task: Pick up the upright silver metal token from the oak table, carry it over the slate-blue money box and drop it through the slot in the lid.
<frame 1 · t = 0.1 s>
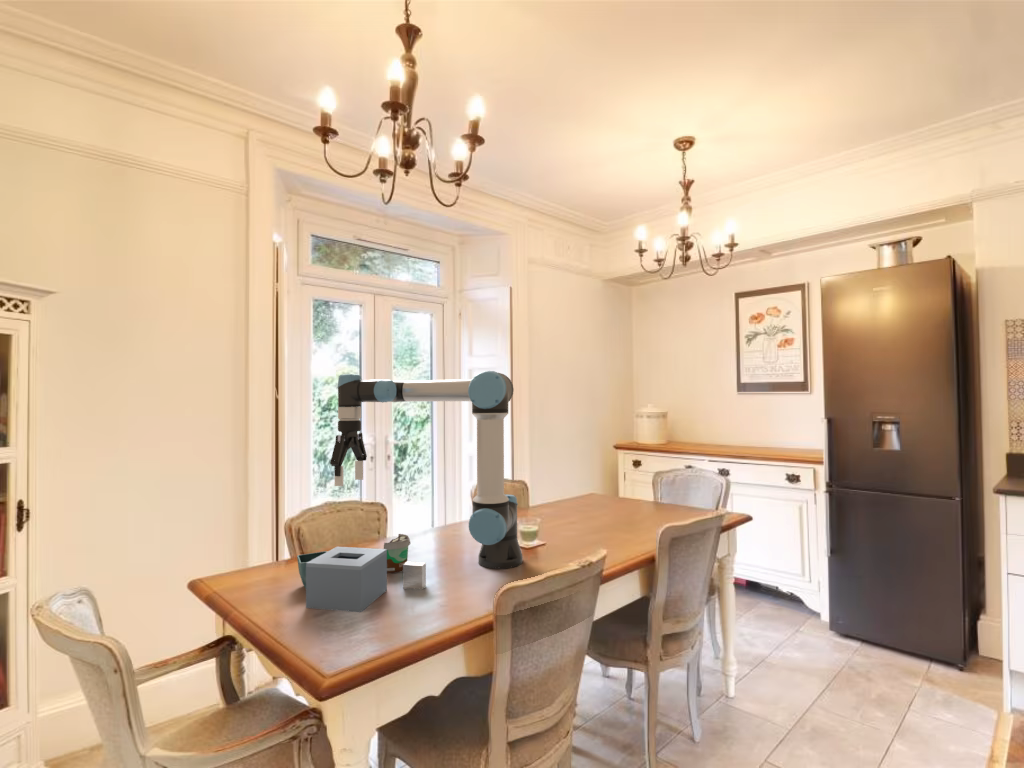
hand: (349, 482, 178), 28 cm above the table, fingers open, 13 cm apart
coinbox: (348, 598, 148), on the table
food container: (400, 569, 174), on the table
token: (414, 587, 157), on the table
flower pot: (313, 587, 158), on the table
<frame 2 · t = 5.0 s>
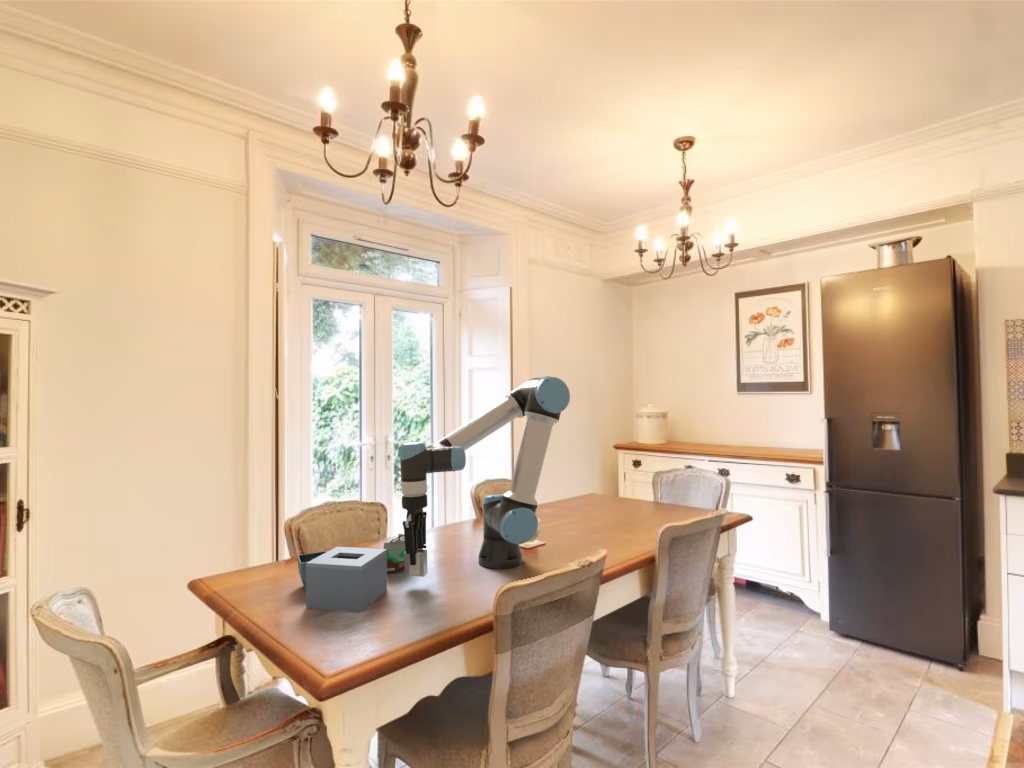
hand: (416, 572, 158), 4 cm above the table, fingers closed on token, 3 cm apart
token: (416, 574, 158), point 4 cm above the table, touching gripper
everything else where it was.
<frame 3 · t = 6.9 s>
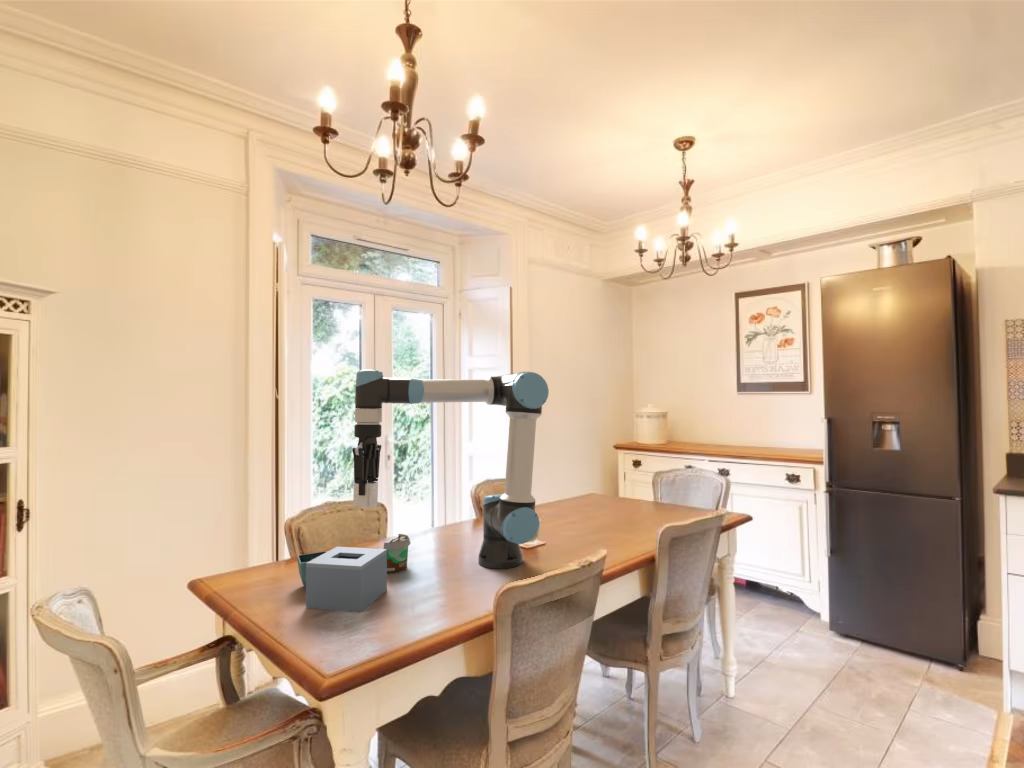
hand: (366, 505, 151), 26 cm above the table, fingers closed on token, 3 cm apart
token: (365, 506, 152), point 25 cm above the table, touching gripper
everything else where it was.
when the fingers open (13 cm above the table, at t = 8.8 s): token drops 11 cm, resting on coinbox.
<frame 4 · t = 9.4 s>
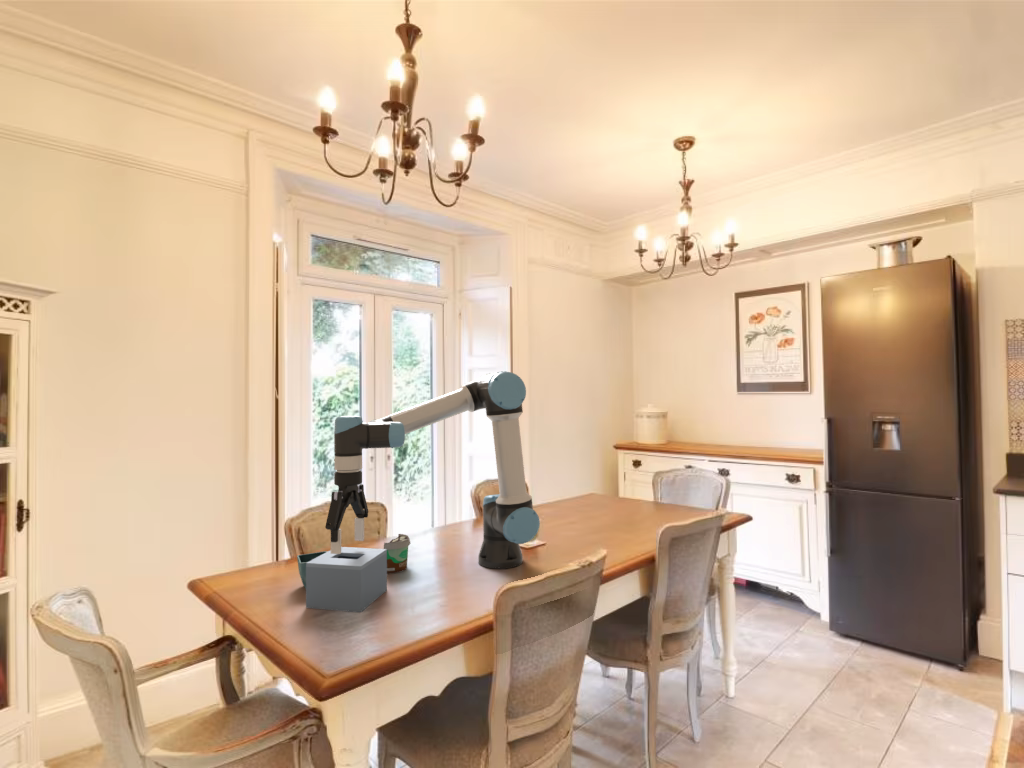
hand: (348, 546, 149), 15 cm above the table, fingers open, 12 cm apart
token: (346, 593, 148), point 2 cm above the table, tilted 20°, touching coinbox
everything else where it was.
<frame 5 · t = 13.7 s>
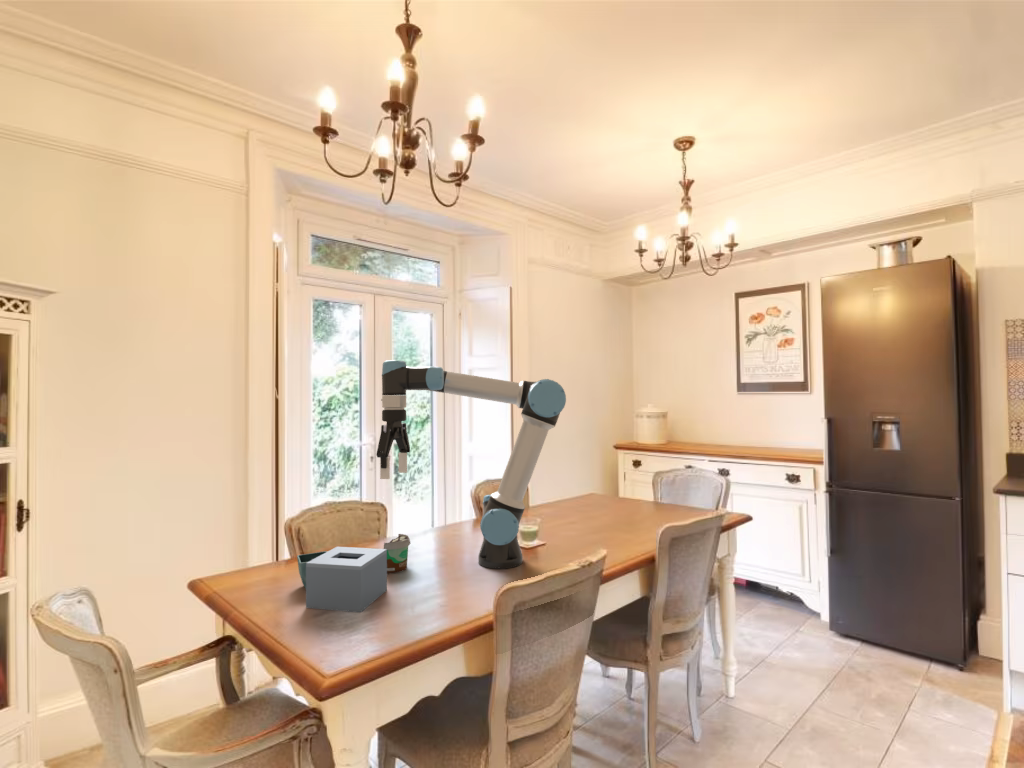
hand: (394, 475, 168), 32 cm above the table, fingers open, 13 cm apart
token: (347, 595, 148), point 1 cm above the table, touching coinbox
everything else where it was.
at the end: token inside the target area on the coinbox (0.3 cm from its centre), point 1.0 cm above the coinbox's base; the gripper is holding nothing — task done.
